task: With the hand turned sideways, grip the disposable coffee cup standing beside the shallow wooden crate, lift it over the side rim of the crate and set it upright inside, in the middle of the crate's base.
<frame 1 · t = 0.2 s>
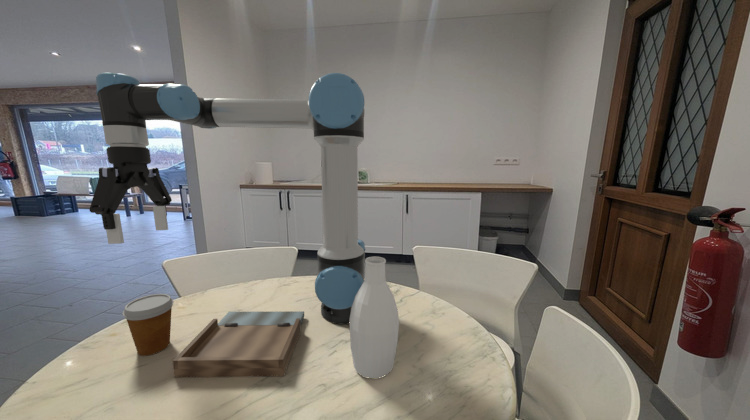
hand: (141, 236, 67), 27 cm above the table, tool pointing down, fingers open, 13 cm apart
disposable coffee cup: (154, 348, 68), on the table
bottle: (373, 366, 63), on the table
shallow wooden crate: (245, 351, 67), on the table
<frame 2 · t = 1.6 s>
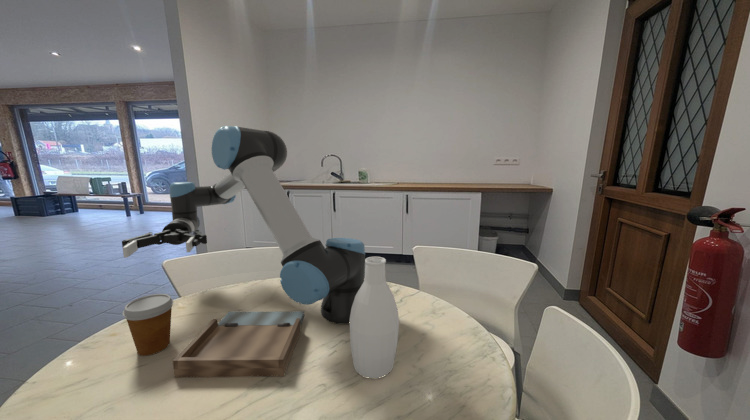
hand: (157, 249, 73), 22 cm above the table, tool horizontal, fingers open, 13 cm apart
nothing on the table moved.
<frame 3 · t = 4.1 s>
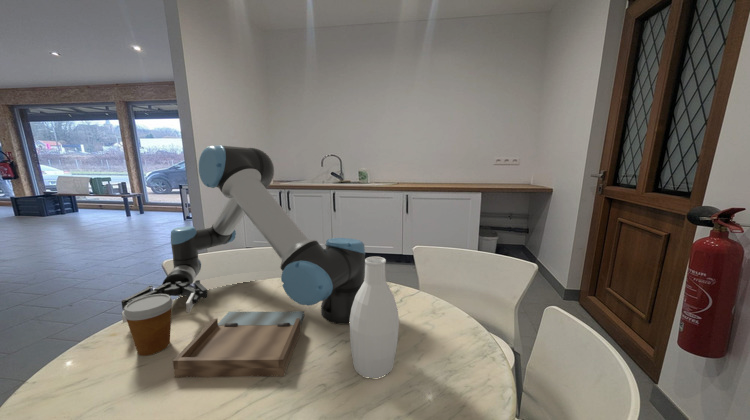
hand: (157, 312, 72), 6 cm above the table, tool horizontal, fingers open, 13 cm apart
nothing on the table moved.
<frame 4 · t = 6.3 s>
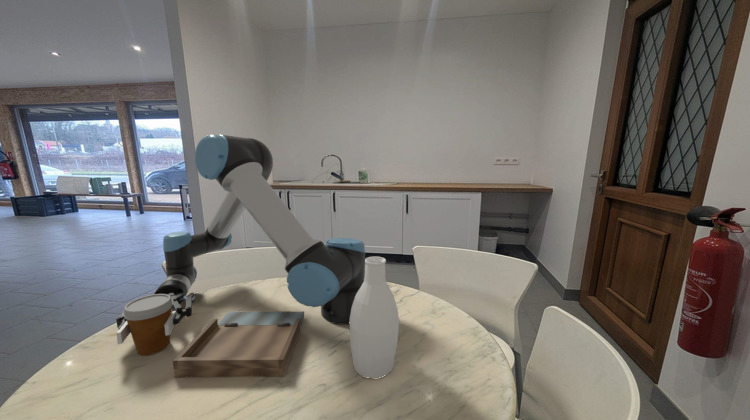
hand: (143, 334, 63), 6 cm above the table, tool horizontal, fingers closed on disposable coffee cup, 8 cm apart
disposable coffee cup: (154, 347, 68), on the table, touching gripper
everything else where it was.
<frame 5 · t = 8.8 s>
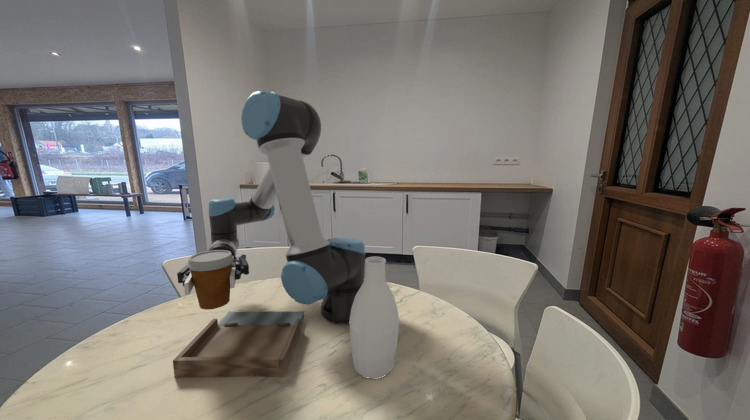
hand: (209, 285, 61), 18 cm above the table, tool horizontal, fingers closed on disposable coffee cup, 8 cm apart
disposable coffee cup: (215, 303, 67), point 12 cm above the table, touching gripper
everything else where it was.
when the fingers open (10 cm above the table, at t = 11.3 s): disposable coffee cup drops 1 cm, resting on shallow wooden crate.
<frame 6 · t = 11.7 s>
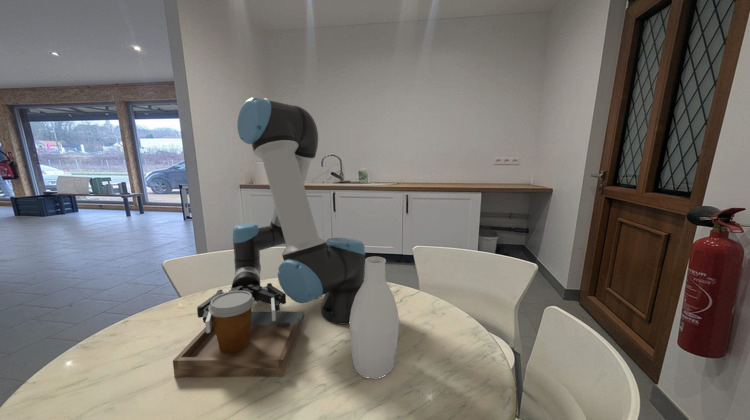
hand: (242, 321, 62), 10 cm above the table, tool horizontal, fingers open, 13 cm apart
disposable coffee cup: (234, 346, 66), point 2 cm above the table, touching shallow wooden crate, gripper
everything else where it was.
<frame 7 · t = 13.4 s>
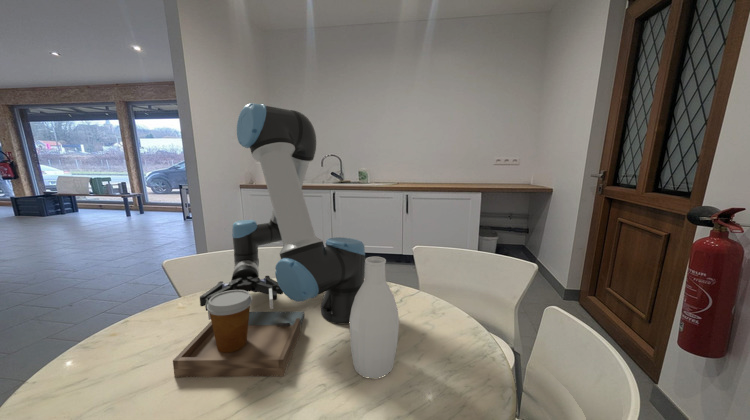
hand: (241, 309, 68), 10 cm above the table, tool horizontal, fingers open, 13 cm apart
disposable coffee cup: (232, 345, 67), point 2 cm above the table, touching gripper
everything else where it was.
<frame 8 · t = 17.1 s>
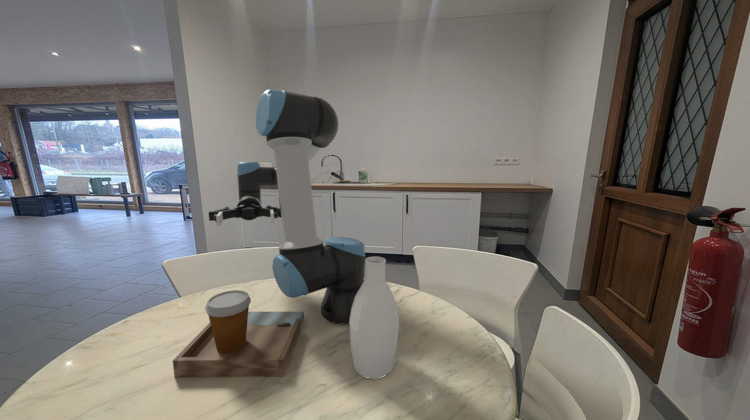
hand: (246, 219, 76), 30 cm above the table, tool horizontal, fingers open, 13 cm apart
disposable coffee cup: (231, 345, 67), point 2 cm above the table, touching shallow wooden crate
everything else where it was.
at the end: disposable coffee cup inside the target area on the shallow wooden crate (3.1 cm from its centre), point 1.8 cm above the shallow wooden crate's base; disposable coffee cup tilted 0°; the gripper is holding nothing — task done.
